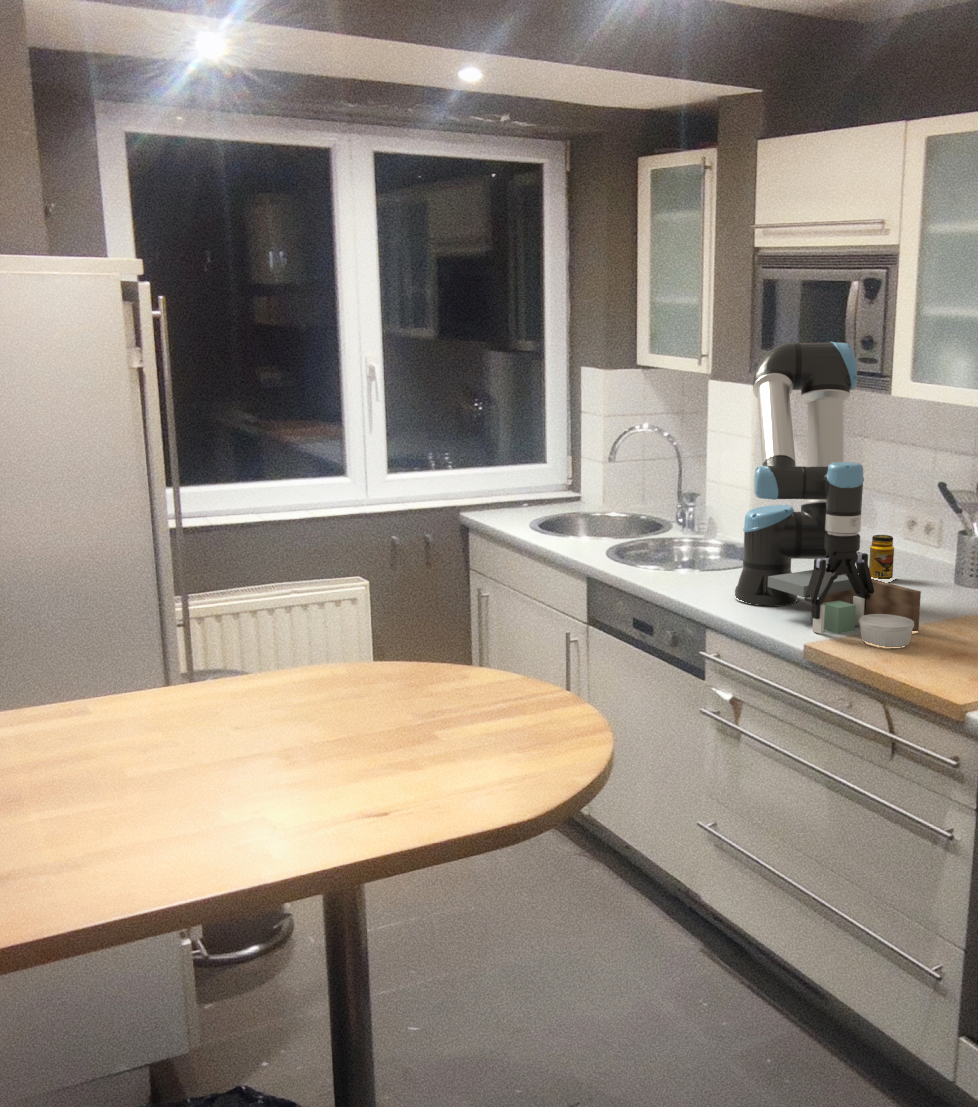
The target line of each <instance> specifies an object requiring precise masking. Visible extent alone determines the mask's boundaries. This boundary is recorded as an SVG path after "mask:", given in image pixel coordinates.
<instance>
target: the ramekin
mask: <svg viewBox="0 0 978 1107" xmlns="http://www.w3.org/2000/svg"><path fill="white" fill-rule="evenodd" d="M859 623H860V626H859V628H860V638H861V640H862V639H863V640H864V641H866V642H868V643H872V644H875V645H879V646H885V647H902V646H906V645H907V646H908V645H909V644H910V641H911V637H912V635H913V634H912V629H913V627H914V621H913V620H911V619H909V618H906V617H901V616H896V615H887V614H870V615H864V616H862V617H860V619H859ZM863 640H862V641H863ZM907 646H906V647H907Z"/></svg>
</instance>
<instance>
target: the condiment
mask: <svg viewBox="0 0 978 1107" xmlns="http://www.w3.org/2000/svg"><path fill="white" fill-rule="evenodd" d="M871 538H872V540H871V545H870V546H869V560H868V566H869V571H870V575H871V577H873V578H878V579H890V578H894V577H893V575H894V559H895V558H894V557H895V547H894V537H893V536H892V535H888V534H875V535H873V536H872V537H871Z"/></svg>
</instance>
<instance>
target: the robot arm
mask: <svg viewBox="0 0 978 1107" xmlns="http://www.w3.org/2000/svg"><path fill="white" fill-rule="evenodd" d="M857 375H858V369H857V362H856V355H855V353H854V349H853V347H852V346H851V345H850V344H849V343H846V342H834V341H829V342H828V341H827V342H825V341H824V342H787V343H783V344H780V345H778V346H776V347H774V348H773V349H771V350H769V352H767V353H766V354H765V355H764V356H763V357H762V359H761V360H760V361H759V363H758V364H757V366H756V368H755V370H754V374H753V378H752V392H753V395H754V396H755V397H756V398H757V403H758V404H757V405H758V418H759V422H758V423H759V433H760V434H759V436H760V437H759V438H760V450H761V466H756V468H755V470H754V479H753V483H754V485H753V486H754V487H753V489H754V495H755V497H756V498H758V499H764V500H773V501H774V500H804V501H803V502H802V503H801V505H800V511H795V509H794V507H793V506H792V505H789V504H774V505H773V504H772V505H766V506H758V507H756V508H752V509H750V510H748V511H747V513H746V514H745V515H744V524H743V529H742V530H743V555H742V570H741V573H740V576H739V579H738V582H737V585H736V587H735V588H734V597H735V596H736V598H738V599H739V600H742V601H744V602H747V603H751V604H750V605H752V604H758V605H757V606H760V605H769V606H768V607H778V606H777V605H782V606H788V605H787V604H789V605H792V604H795V603H796V602H797V601H798V596H797V595H794V594H790V593H787V592H784V591H780V590H777V589H773V588H770V587H768V576H775V575H781V574H788V573H793V572H792V560H798V559H799V560H800V559H801V560H806V559H807V560H813V569H812V570H813V572H812V575H811V579H810V582H809V585H808V588H807V591H806V595H805V597H803V598H804V601H805V602H807V603H810V605H811V618H812V632H814V633H817V634H820V635H824V633H825V632H824V631H825V630H824V615H825V605H823V604H822V602H823V601H824V599H825V597H826V595H827V593H828V591H829V589H830V587H831V585H832V583H833V581H834V580H835V579H837V577H838V575H843V574H846V575H847V577H848V579H849V581H850V583H851V585H852V587H853V589H854V591H855V593H856V595H858V597H857V596H853V605H856V608H855V627H856V626H857V627H860V623H859V619H860V617H862V616H864V611H865V609H866V598H870V596H871V595H870V594H873V593H874V588H873V584H872V579H871V575H870V571H869V554H868V553H865V552H860V551H859V550H860V549H861V535H860V534H859V533H860V532H861V530H862V529H861V526H862V507H863V506H862V505H863V504H862V503H863V488H864V482H865V478H864V466H863V465H862V464H861V463H859V462H854V461H844V459H845V458H844V403H845V402H846V400H847V399H849V398H850V394H851V393H850V392H851V391H852V390H855V389H856V386H857V384H858V383H857V382H858V377H857ZM793 391H800V397H801V399H802V400H803V402H805V403H806V405H807V466H805V465H803V466H797V465H796V464H797V463H796V454H795V452H796V451H795V444H794V443H795V442H794V441H795V440H794V430H793V420H792V407H791V396H790V395H791V394H792V392H793ZM829 572H831V573H829ZM796 600H797V601H796ZM794 602H795V603H794ZM791 603H792V604H791ZM770 605H771V606H770ZM772 605H773V606H772ZM775 605H776V606H775Z"/></svg>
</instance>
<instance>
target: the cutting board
mask: <svg viewBox="0 0 978 1107" xmlns="http://www.w3.org/2000/svg"><path fill="white" fill-rule="evenodd" d="M843 575H846V574H843ZM846 576H847V575H846ZM872 584H873V588H874V593H873V594H870V595H871V596H870V598H866V609H865V611H864V615H870V614H887V615H896V616H901V617H906V618H909V619H911V620H913V621H914V627H913V629H912V631H918V632H919V626H920V625H919V624H920V611H921V610H920V609H921V598H922V597H921V595H922V591H920V590H917V589H912V588H909V587H904V586H902V585H897V584H894V583H885V582H882V581H878V580H874V579H872ZM853 596H857V597H858V595H856V593H855V591H854V589H852V590H846V591H840V592H834V593H827V595H826V597H825V599H824V601H823V602H822V604H823V603H827V602H833V601H843V602H846V603H850V604H853Z"/></svg>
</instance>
